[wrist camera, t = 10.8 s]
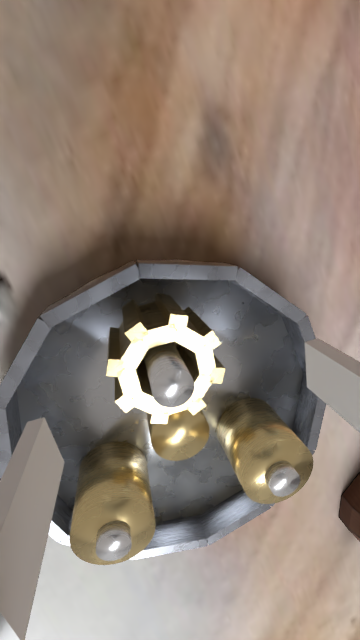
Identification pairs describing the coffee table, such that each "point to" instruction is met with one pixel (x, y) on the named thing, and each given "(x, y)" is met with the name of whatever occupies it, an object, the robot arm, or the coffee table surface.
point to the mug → (351, 508)
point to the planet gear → (153, 330)
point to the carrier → (182, 427)
